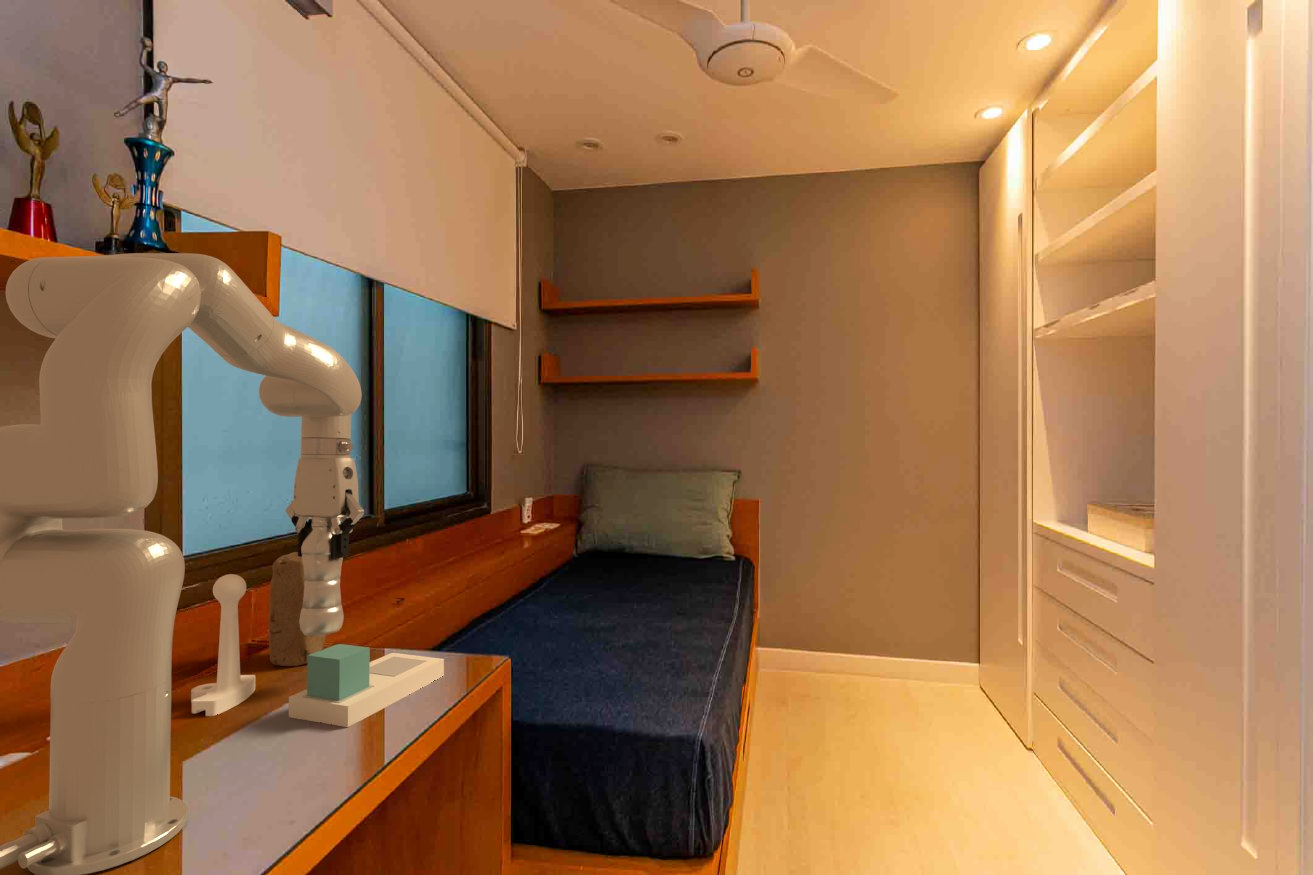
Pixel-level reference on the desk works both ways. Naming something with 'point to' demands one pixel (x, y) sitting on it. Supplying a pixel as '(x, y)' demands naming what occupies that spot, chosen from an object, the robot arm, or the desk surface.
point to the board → (371, 690)
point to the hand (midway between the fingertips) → (323, 555)
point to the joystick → (226, 655)
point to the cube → (338, 671)
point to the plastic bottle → (320, 582)
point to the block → (289, 614)
